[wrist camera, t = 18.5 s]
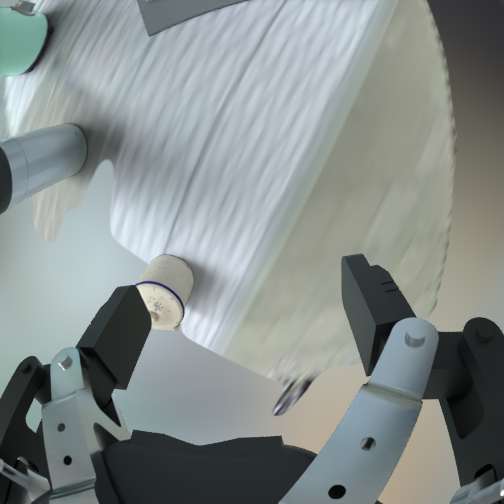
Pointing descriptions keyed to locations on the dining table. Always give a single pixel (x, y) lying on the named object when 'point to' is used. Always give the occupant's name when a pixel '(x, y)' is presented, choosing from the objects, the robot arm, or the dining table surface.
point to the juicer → (21, 38)
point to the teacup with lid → (166, 291)
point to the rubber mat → (176, 11)
